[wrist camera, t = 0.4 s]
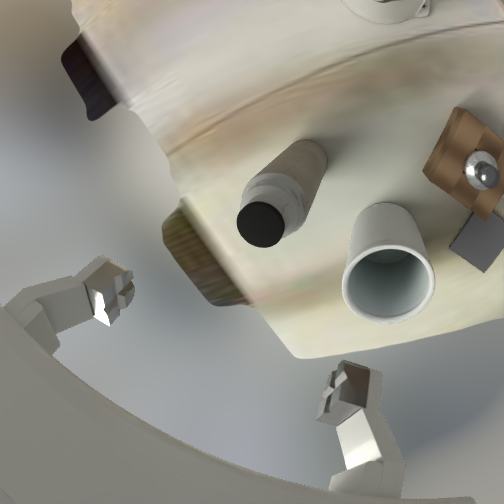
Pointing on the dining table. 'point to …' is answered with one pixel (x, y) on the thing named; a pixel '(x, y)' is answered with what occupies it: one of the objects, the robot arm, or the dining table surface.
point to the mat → (480, 240)
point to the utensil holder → (387, 266)
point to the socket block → (454, 154)
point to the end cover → (481, 170)
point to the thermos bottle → (281, 194)
